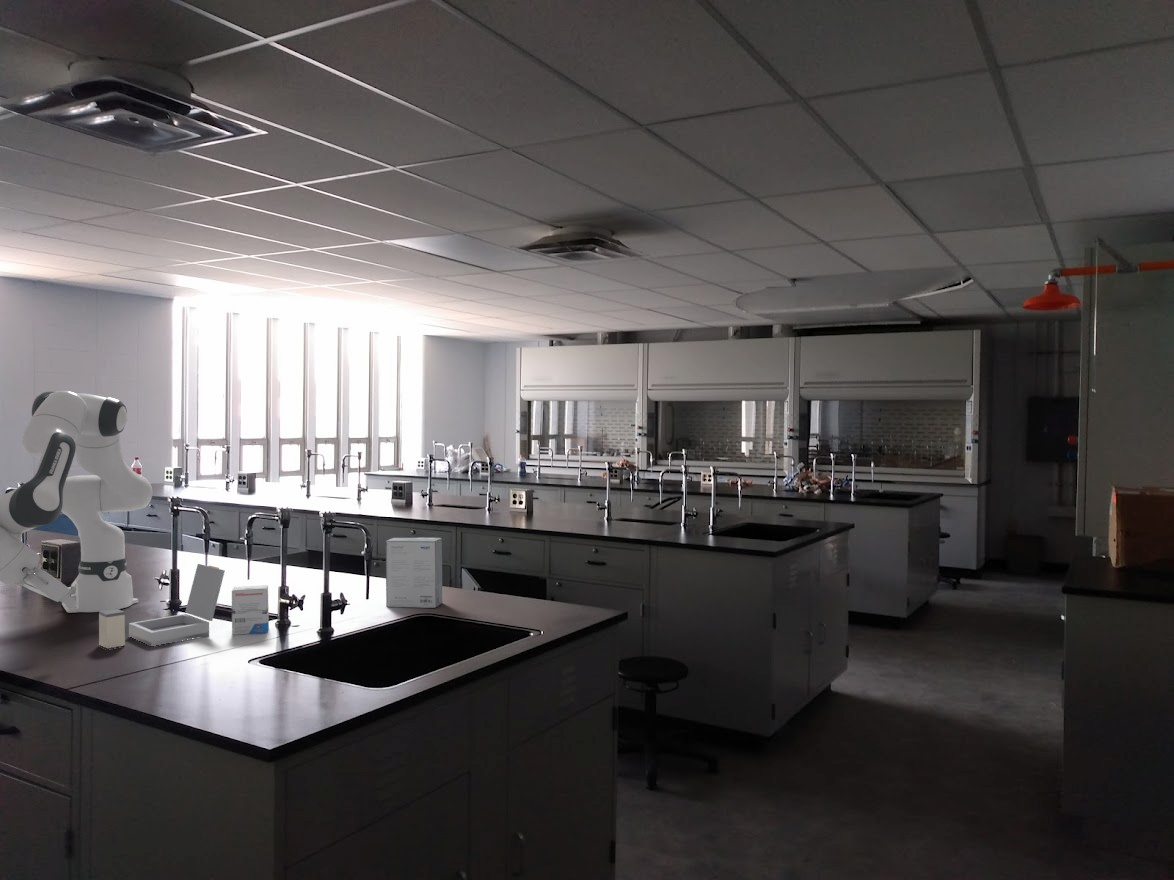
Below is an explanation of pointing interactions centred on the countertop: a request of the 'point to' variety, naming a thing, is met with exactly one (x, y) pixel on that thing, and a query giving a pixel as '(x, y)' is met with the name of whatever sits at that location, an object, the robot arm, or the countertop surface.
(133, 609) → the countertop surface
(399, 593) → the hard drive box
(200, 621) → the case
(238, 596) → the ink box
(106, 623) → the block
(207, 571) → the case lid
